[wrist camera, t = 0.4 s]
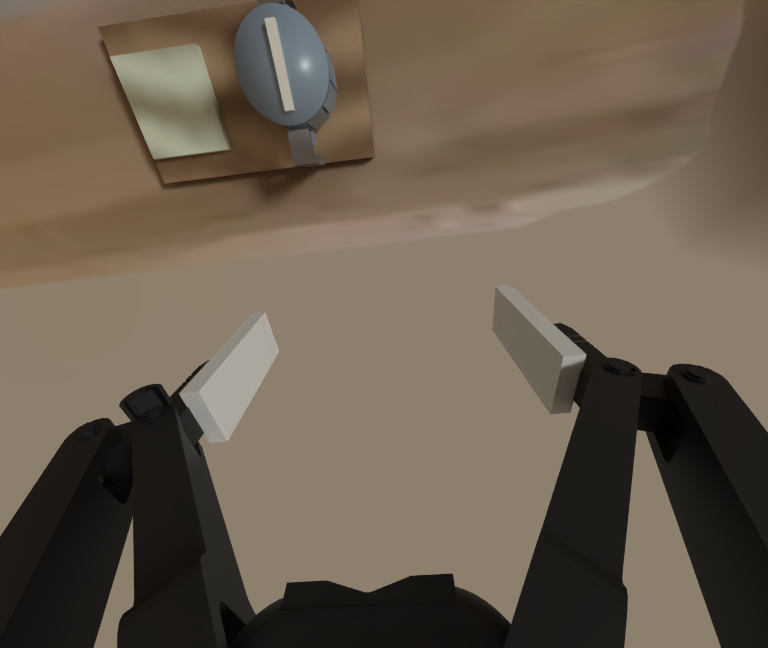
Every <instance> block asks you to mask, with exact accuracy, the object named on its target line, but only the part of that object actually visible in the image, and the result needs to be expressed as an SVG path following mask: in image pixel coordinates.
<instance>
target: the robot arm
mask: <svg viewBox="0 0 768 648" xmlns="http://www.w3.org/2000/svg"><path fill="white" fill-rule="evenodd" d="M492 330H493V331H494V333H495V334H496V336H497V337H498V339H499V340H500V341H501V343H502V344H503V346H504V347H505V349H506V350H507V352H508V353H509V355H510V356H511V357H512V359H513V360H514V362H515V363H516V365H517V366H518V368H519V369H520V371H521V372H522V373H523V375H524V376H525V378H526V379H527V381H528V382H529V384H530V385H531V387H532V388H533V390H534V391H535V393H536V394H537V395H538V397H539V398H540V400H541V401H542V403H543V404H544V406H545V407H546V408H547V410H548V411H549V413H550V414H556V413H569V412H571V409H572V405H573V402H574V401H575V403H576V404H577V405H578V406H579V407H580V409H579V412H578V416H577V419H576V422H575V425H574V428H573V431H572V434H571V438H570V441H569V444H568V447H567V450H566V453H565V457H564V460H563V463H562V466H561V469H560V472H559V476H558V479H557V482H556V485H555V488H554V491H553V495H552V498H551V501H550V504H549V507H548V510H547V514H546V517H545V520H544V523H543V527H542V529H541V532H540V535H539V538H538V541H537V544H536V547H535V550H534V554H533V557H532V560H531V563H530V566H529V569H528V572H527V575H526V579H525V582H524V585H523V588H522V591H521V594H520V598H519V601H518V604H517V607H516V611H515V614H514V616H513V620H512V623H511V624H510V623H509V622H508V620H507V619H505V617H503V615H501V614H500V613H499V612H498V611H497V610H496V609H495V608H494V607H493V606H491V605H490V604H489V603H488V602H486V601H485V600H483V599H482V598H480V597H478V596H477V595H475V594H473V593H471V592H469V591H466V590H465V589H461V588H458V587H455V585H454V579H453V574H436V575H417V576H409V577H407V578H405V579H402V580H400V581H397V582H395V583H392V584H390V585H387V586H385V587H382V588H380V589H377V590H375V591H372V592H369V593H366V592H361V591H359V590H355V589H352V588H349V587H346V586H343V585H339V584H336V583H333V582H330V581H309V582H291V583H287V585H286V589H285V594H284V598H282V599H279V600H277V601H276V602H274V603H272V604H270V605H269V606H268V607H266V608H265V609H263V610H262V611H261V612H259V613H258V614H257V615H256V614H255V612H254V611H253V609H252V607H251V605H250V603H249V600H248V597H247V595H246V591H245V588H244V585H243V581H242V578H241V575H240V571H239V568H238V565H237V562H236V558H235V555H234V552H233V548H232V545H231V542H230V538H229V535H228V532H227V529H226V525H225V522H224V519H223V515H222V512H221V509H220V505H219V502H218V499H217V495H216V492H215V489H214V486H213V482H212V479H211V476H210V473H209V469H208V466H207V462H206V459H205V456H204V452H203V449H202V446H201V445H200V443H199V442H198V441H199V439H200V438H201V436H202V435H203V434H204V435H205V436H206V438H207V440H208V441H209V443H218V442H227V441H228V440H229V438H230V436H231V434H232V433H233V431H234V429H235V427H236V425H237V424H238V422H239V421H240V419H241V417H242V415H243V414H244V412H245V410H246V408H247V407H248V405H249V403H250V401H251V400H252V398H253V396H254V395H255V393H256V391H257V389H258V388H259V386H260V384H261V382H262V381H263V379H264V377H265V375H266V374H267V372H268V370H269V368H270V367H271V365H272V363H273V361H274V360H275V358H276V356H277V355H278V353H279V350H278V347H277V344H276V341H275V338H274V336H273V333H272V330H271V328H270V325H269V322H268V319H267V316H266V313H265V312H263V313H254V314H252V315H251V316H250V317H249V318H248V319H247V320H246V321H245V322H244V323H243V324H242V325H241V326H240V328H239V329H238V330H237V331H236V332H235V333H234V334H233V335H232V336H231V338H229V340H228V341H227V342H226V343H225V344H224V345H223V346H222V347H221V348H220V349H219V350H218V352H217V353H216V354H215V355H214V356H213V357H212V358H211V359H210V360H208V361H206V362H205V363H203V364H202V365H201V366H199V367H198V368H197V369H196V370H195V371H194V372H193V373H192V374H191V376H189V378H187V380H186V382H184V383H183V384H182V385H181V386H180V387H179V388H178V389H177V390H176V391H175V392H174V393H173V394H172V396H171V397H169V396H168V394H167V393H166V391H165V390H164V388H163V387H162V385H161V384H152V385H147V386H145V387H141V388H139V389H137V390H135V391H133V392H132V393H130V394H129V395H127V396H126V397H125V398H124V399H123V400H122V401H121V402H120V405H119V406H120V407H121V409H122V410H123V411H124V413H125V414H126V415H127V416H128V418H129V419H130V420H131V422H128V423H125V424H122V425H118V426H115V425H114V424H113V423H112V421H111V420H110V419H108V418H101V419H97V420H94V421H92V422H89V423H86V424H84V425H83V426H80V427H79V428H77V429H76V430H75V431H74V432H72V433H71V434H70V435H69V436H68V437H67V438H66V439H65V440H64V442H63V443H62V445H61V446H60V448H59V449H58V451H57V452H56V454H55V455H54V457H53V458H52V460H51V462H50V463H49V464H48V466H47V467H46V469H45V470H44V472H43V473H42V475H41V476H40V478H39V479H38V481H37V482H36V484H35V485H34V487H33V488H32V490H31V491H30V493H29V494H28V496H27V497H26V499H25V500H24V502H23V503H22V505H21V506H20V508H19V509H18V511H17V512H16V514H15V515H14V517H13V518H12V520H11V521H10V523H9V524H8V526H7V527H6V529H5V530H4V532H3V533H2V535H1V536H0V648H93V647H94V644H95V641H96V637H97V634H98V631H99V627H100V624H101V621H102V618H103V614H104V611H105V608H106V604H107V601H108V598H109V594H110V591H111V588H112V584H113V581H114V578H115V574H116V571H117V568H118V564H119V561H120V557H121V554H122V551H123V548H124V544H125V541H126V537H127V534H128V531H129V527H130V524H131V521H132V517H133V540H134V605H133V607H132V608H131V609H129V610H128V611H127V612H125V613H124V614H123V615H122V617H121V619H120V621H119V627H118V635H117V648H624V643H625V631H626V619H627V604H628V603H627V602H628V595H627V588H626V587H625V586H624V585H623V581H622V573H623V572H622V571H623V562H624V553H625V543H626V533H627V523H628V513H629V502H630V493H631V483H632V473H633V463H634V454H635V444H636V434H637V433H636V432H637V430H642V431H646V434H647V437H648V440H649V443H650V445H651V448H652V451H653V454H654V457H655V460H656V462H657V465H658V468H659V471H660V474H661V477H662V480H663V483H664V485H665V488H666V491H667V494H668V497H669V500H670V503H671V505H672V508H673V511H674V514H675V517H676V520H677V523H678V526H679V528H680V531H681V534H682V537H683V540H684V542H685V546H686V548H687V551H688V554H689V557H690V560H691V562H692V566H693V568H694V571H695V574H696V577H697V580H698V583H699V586H700V589H701V591H702V594H703V597H704V600H705V603H706V606H707V608H708V611H709V614H710V617H711V620H712V623H713V626H714V629H715V631H716V634H717V637H718V640H719V643H720V646H721V648H768V432H767V431H766V430H765V428H764V427H763V426H762V425H761V423H760V422H759V421H758V419H757V418H756V417H755V416H754V414H753V413H752V412H751V410H750V409H749V408H748V407H747V405H746V404H745V403H744V401H743V400H742V399H741V398H740V396H739V395H738V394H737V392H736V391H735V390H734V389H733V387H732V386H731V385H730V383H729V382H728V381H727V380H726V379H725V378H724V377H723V376H721V375H720V374H718V373H716V372H714V371H712V370H710V369H708V368H704V367H702V366H696V365H691V364H676V365H672V366H671V367H670V368H669V370H668V372H667V375H661V374H660V375H659V374H651V373H642V372H641V370H639V368H638V367H636V366H635V365H633V364H631V363H630V362H627V361H624V360H621V359H617V358H607V357H606V356H605V355H603V354H602V353H601V352H600V351H598V350H597V349H596V348H595V347H594V346H593V345H591V344H590V343H589V342H587V341H586V340H585V339H584V338H583V337H582V336H580V335H579V334H578V333H577V332H576V331H574V330H573V329H572V328H570V327H568V326H566V325H564V324H561V323H558V324H552V323H551V322H550V321H549V320H548V319H547V318H546V317H545V316H544V315H542V314H541V313H540V312H539V311H538V310H537V309H536V308H534V306H532V305H531V304H530V303H529V302H528V301H527V300H526V299H525V298H524V297H522V296H521V295H520V294H519V293H518V292H517V291H516V290H515V289H514V288H513V287H511V286H510V285H505V286H497V287H496V288H495V301H494V316H493V327H492Z"/></svg>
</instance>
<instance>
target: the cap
mask: <svg viewBox="0 0 768 648" xmlns="http://www.w3.org/2000/svg"><path fill="white" fill-rule="evenodd" d="M234 63H235V69H236V74H237V77H238V80H239V83H240V86H241V88H242V90H243V92H244V94H245V96H246V97H247V99H248V100H249V102H250V103H251V104H252V106H253V107H254V108H255V109H256V110H257V111H258V112H259V113H260V114H262V115H263V116H264V117H265V118H267V119H269V120H271V121H273V122H275V123H277V124H279V125H281V126H283V127H285V128H287V129H289V130H291V131H294V130H301V129H309V130H310V134H311V139H312V145H313V147H315V146H317V145H316V140H315V134H314V131H315V129H317V130H318V129H319V128H320V127H321V126H322V125H323V124H324V123H325V122H326V121H327V120H328V119H329V118H330V116H329V114H330V115H332V112H333V109H334V105H335V102H336V98H337V95H338V94H337V93H336V92H338V90H337V83H336V76H335V69H334V66H333V63H332V61H331V59H330V57H329V54H328V52H327V50H326V48H325V46H324V45H323V43H322V41H321V40H320V38H319V36H318V34H317V32H316V31H315V29H314V28H313V26H312V25H311V24H310V22H309V21H308V20H307V19H306V18H305V17H304V16H303V15H302V14H301V13H299V12H298V11H296V10H295V9H293V8H291V7H289V5H288V4H285V5H283V4H279V3H267V4H263V5H260V6H258V7H256V8H254V9H253V10H252V11H250V12H249V13H248V14H247V15H246V16H245V18H244V19H243V21H242V22H241V24H240V26H239V29H238V31H237V34H236V39H235V44H234ZM328 113H329V114H328Z"/></svg>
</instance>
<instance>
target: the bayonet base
mask: <svg viewBox="0 0 768 648" xmlns="http://www.w3.org/2000/svg"><path fill="white" fill-rule="evenodd" d="M257 1H258V2H252V3H246V4H239V5H233V6H227V7H220V8H214V9H208V10H202V11H195V12H189V13H183V14H176V15H170V16H164V17H157V18H151V19H145V20H138V21H132V22H126V23H119V24H113V25H107V26H101V27H98V29H99V31H100V34H101V36H102V38H103V41H104V43H105V45H106V48H107V50H108V53H109V55H110V59H111V61H112V63H113V66H114V68H115V70H116V73H117V75H118V77H119V80H120V82H121V84H122V87H123V89H124V91H125V94H126V96H127V98H128V101H129V103H130V105H131V108H132V110H133V112H134V115H135V117H136V119H137V122H138V124H139V126H140V129H141V131H142V133H143V136H144V138H145V140H146V143H147V145H148V147H149V150H150V152H151V154H152V157H153V159H154V160H155V163H156V165H157V167H158V170H159V172H160V174H161V177H162V179H163V181H164V183H177V182H185V181H193V180H200V179H208V178H216V177H224V176H232V175H240V174H248V173H256V172H263V171H271V170H279V169H287V168H295V167H314V166H321V165H325V164H326V163H334V162H342V161H350V160H358V159H366V158H374V157H375V155H374V146H373V136H372V127H371V118H370V108H369V99H368V90H367V80H366V71H365V62H364V52H363V43H362V34H361V24H360V15H359V6H358V0H257ZM267 3H279V4H283V5H285V4H288V5H289V7H291V8H293V9H295V10H296V11H298V12H299V13H301V14H302V15H303V16H304V17H305V18H306V19H307V20H308V21H309V22H310V24H311V25H312V26H313V28H314V29H315V31H316V32H317V34H318V36H319V38H320V40H321V41H322V43H323V45H324V46H325V48H326V50H327V52H328V54H329V57H330V59H331V61H332V63H333V66H334V69H335V76H336V83H337V90H338V92H336V93H337V94H338V95H337V98H336V102H335V105H334V109H333V112H332V115H330V114H329V113H328V114H329V116H330V118H329V119H328V120H327V121H326V122H325V123H324V124H323V125H322V126H321V127H320V128H319V129H318V130H317V129H315V131H314V134H315V140H316V145H317V146H315V147H313V145H312V139H311V134H310V130H309V129H301V130H294V131H291V130H289V129H287V128H285V127H283V126H281V125H279V124H277V123H275V122H273V121H271V120H269V119H267V118H265V117H264V116H263V115H262V114H260V113H259V112H258V111H257V110H256V109H255V108H254V107H253V106H252V104H251V103H250V102H249V100H248V99H247V97H246V96H245V94H244V92H243V90H242V88H241V86H240V83H239V80H238V77H237V74H236V69H235V63H234V44H235V39H236V34H237V31H238V29H239V26H240V24H241V22H242V21H243V19H244V18H245V16H246V15H247V14H248V13H249V12H250V11H252V10H253V9H254V8H256V7H258V6H260V5H263V4H267Z"/></svg>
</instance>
